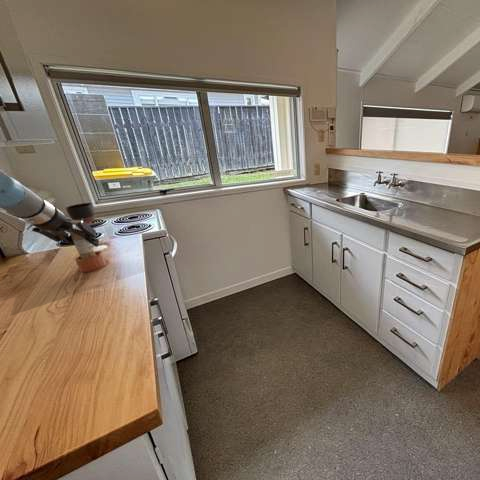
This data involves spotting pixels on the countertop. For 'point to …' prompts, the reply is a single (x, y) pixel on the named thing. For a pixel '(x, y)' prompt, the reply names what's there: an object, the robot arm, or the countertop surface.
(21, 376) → the countertop surface
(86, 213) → the wineglass
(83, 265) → the crock
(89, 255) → the sprinkles bottle
